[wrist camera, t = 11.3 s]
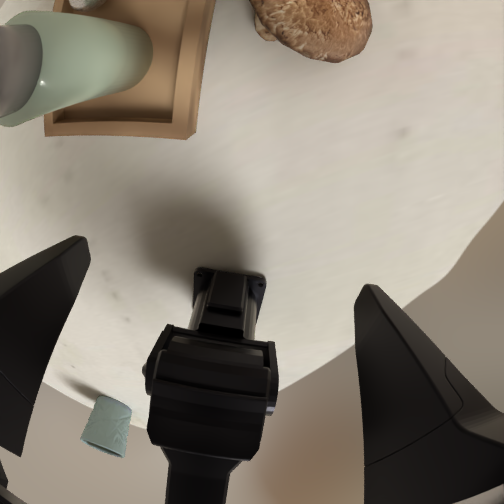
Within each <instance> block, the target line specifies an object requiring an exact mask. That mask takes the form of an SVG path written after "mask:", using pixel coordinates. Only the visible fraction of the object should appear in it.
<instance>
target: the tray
mask: <svg viewBox="0 0 504 504" xmlns="http://www.w3.org/2000/svg"><path fill="white" fill-rule="evenodd" d="M215 2H216V0H106V1H105V3H104V4H102V5H101V6H100V7H98V8H97V9H95V10H92V11H88V12H79V11H76V10H74V9H73V8H72V7H71V5H70V3H69V0H55V3H54V8H53V12H60V13H70V14H78V15H85V16H91V17H97V18H102V19H107V20H112V21H117V22H121V23H126V24H130V25H134V26H137V27H139V28H141V29H143V30H144V31H145V32H146V33H147V34H148V35H149V37H150V39H151V41H152V45H153V59H152V63H151V66H150V68H149V70H148V72H147V74H146V75H145V76H144V78H143V79H142V80H141V81H140V82H139V83H138V84H137V85H135V86H134V87H132V88H131V89H129V90H126V91H123V92H119V93H115V94H110V95H106V96H102V97H98V98H94V99H91V100H87V101H84V102H80V103H77V104H74V105H70V106H67V107H64V108H61V109H58V110H55V111H53V112H50V113H47V114H44V130H45V137H47V136H74V135H110V136H138V137H155V138H168V139H180V140H187V139H188V138H189V137H190V136H192V135H193V134H194V133H196V125H197V116H198V107H199V99H200V91H201V84H202V77H203V70H204V63H205V57H206V50H207V44H208V39H209V33H210V27H211V22H212V17H213V12H214V7H215Z"/></svg>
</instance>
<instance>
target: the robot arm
mask: <svg viewBox="0 0 504 504" xmlns="http://www.w3.org/2000/svg"><path fill="white" fill-rule="evenodd" d="M90 261H91V257H90V252H89V247H88V242H87V239H86V238H85V237H83V236H77V235H75V236H72V237H70V238H68V239H66V240H64V241H62V242H60V243H57V244H55V245H53V246H51V247H49V248H47V249H45V250H43V251H41V252H39V253H37V254H35V255H33V256H31V257H29V258H27V259H26V260H24V261H22V262H20V263H18V264H16V265H14V266H12V267H11V268H9V269H7V270H5V271H3V272H2V273H0V446H1V447H3V448H5V449H6V450H8V451H10V452H12V453H13V454H15V455H17V456H19V457H21V455H22V451H23V446H24V441H25V437H26V433H27V429H28V425H29V421H30V418H31V414H32V411H33V407H34V406H33V405H34V403H35V400H36V397H37V394H38V391H39V388H40V385H41V382H42V379H43V376H44V373H45V371H46V368H47V365H48V363H49V360H50V357H51V355H52V352H53V350H54V347H55V345H56V343H57V340H58V338H59V335H60V333H61V331H62V329H63V326H64V324H65V322H66V320H67V318H68V315H69V313H70V311H71V309H72V307H73V305H74V302H75V300H76V298H77V295H78V293H79V290H80V287H81V285H82V282H83V280H84V277H85V275H86V272H87V270H88V268H89V265H90ZM199 273H202V274H199ZM259 283H263V284H259ZM265 289H266V280H265V279H264V278H260V277H254V276H248V275H241V274H235V273H229V272H223V271H217V270H212V269H206V268H197V269H196V270H195V273H194V296H193V312H192V316H191V319H190V323H189V326H188V329H185V328H180V327H175V326H174V325H171V324H167V325H166V327H165V329H164V331H162V332H161V334H160V336H159V338H158V340H157V342H156V344H155V346H154V348H153V349H152V351H151V353H150V355H149V357H148V359H147V362H146V363H145V364H144V365H143V368H142V373H143V375H144V377H145V389H146V393H147V395H150V396H151V399H150V409H149V418H148V424H147V432H148V435H149V438H150V441H151V443H152V444H153V445H156V446H160V447H161V449H162V451H163V453H164V455H165V457H166V458H167V460H168V462H169V467H168V477H167V487H166V499H165V504H225V503H226V496H227V490H228V482H229V476H230V473H231V472H232V470H234V469H235V468H236V467H237V466H238V465H239V464H240V463H241V462H242V461H250V460H251V459H252V458H253V456H254V455H255V454H256V452H257V451H258V450H259V446H260V441H261V437H262V431H263V426H264V420H265V415H267V416H271V415H272V414H273V411H274V409H275V405H276V401H277V395H278V386H279V375H278V366H277V357H276V349H275V342H273V341H268V342H264V341H257V340H254V339H255V325H256V323H257V319H258V315H259V311H260V308H261V304H262V300H263V296H264V293H265ZM354 323H355V349H356V359H357V367H358V376H359V386H360V396H361V408H362V422H363V439H364V466H365V467H364V504H504V413H502V412H500V411H498V410H497V409H495V408H494V407H493V406H492V405H491V404H490V403H489V402H488V401H487V400H486V399H485V397H484V396H483V395H482V394H481V393H480V392H479V391H478V390H477V389H475V387H474V386H473V385H472V384H471V383H470V382H469V381H468V380H467V379H466V378H465V377H464V376H463V375H462V374H461V373H460V371H458V369H457V368H456V367H455V366H454V365H453V364H452V363H451V362H450V360H449V359H448V358H447V357H445V355H444V354H443V353H442V352H441V350H440V349H439V348H438V347H437V346H436V345H435V344H434V343H433V342H432V341H431V340H430V338H429V337H428V336H427V335H426V334H425V333H424V332H423V331H422V330H421V329H420V328H419V327H418V326H417V325H416V324H415V323H414V321H413V320H412V319H411V318H410V317H409V316H408V315H407V314H406V313H405V312H404V311H403V310H402V309H401V308H400V307H399V306H398V305H397V304H396V303H395V302H394V301H393V300H392V299H391V298H390V297H389V296H388V295H387V294H386V293H385V292H384V291H383V290H382V289H381V288H380V287H379V286H377V285H374V284H365V285H364V286H363V288H362V290H361V292H360V294H359V296H358V297H357V299H356V301H355V304H354ZM7 484H8V479H7V477H6V474H5V472H4V469H3V466H2V464H1V461H0V504H27V503H25V502H24V501H22V500H21V499H19V498H18V497H16V496H15V495H14V494H12V493H11V492H10V491H8V490H7V489H6V488H7Z"/></svg>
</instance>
